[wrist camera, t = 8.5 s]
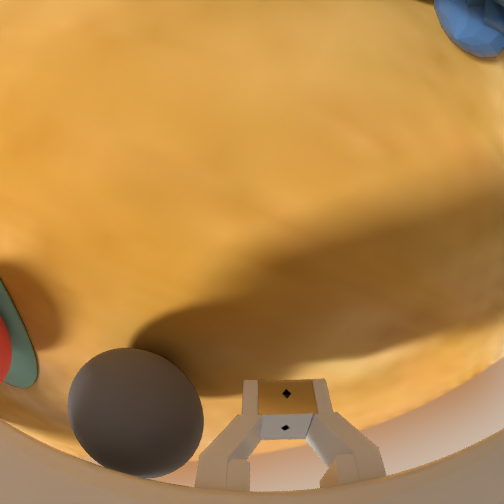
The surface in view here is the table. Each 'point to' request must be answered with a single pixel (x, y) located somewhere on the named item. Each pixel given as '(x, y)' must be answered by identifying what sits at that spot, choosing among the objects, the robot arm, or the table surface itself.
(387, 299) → the table surface
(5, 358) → the ball
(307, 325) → the table surface
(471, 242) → the table surface
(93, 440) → the ball
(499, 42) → the grapes
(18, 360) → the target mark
